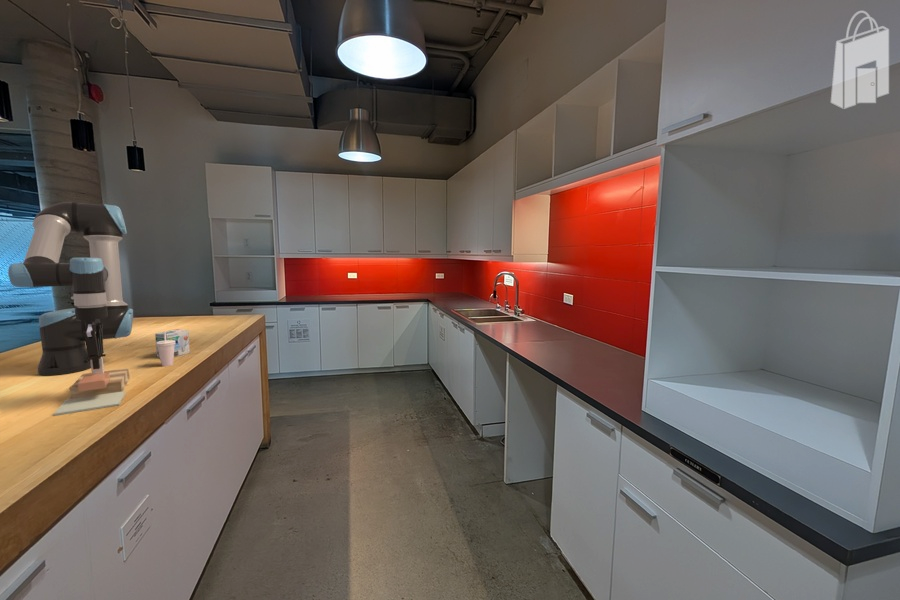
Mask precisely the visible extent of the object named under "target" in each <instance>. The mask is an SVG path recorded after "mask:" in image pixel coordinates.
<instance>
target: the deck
mask: <svg viewBox="0 0 900 600" xmlns="http://www.w3.org/2000/svg"><path fill="white" fill-rule="evenodd" d="M109 372H110V381H109V383H108V384H107V386H106V388H102V389H94V390H87V391H80V392H79V390H78V383H79V382H80V380H81V379H82V378H83V377H84V376H85V375H92V372H87V373H82V374H81V375H80V376H79V378H77V379H76V380H75V382H73V384H72V385H71V386H70V387H69V397H70V399H73V398H80V397H87V396H94V395H101V394H108V393H115V392H122V391H125V388H126V386H127V384H128V382H129V380H130V370H129V368H120V369H112V370H104V373H109Z"/></svg>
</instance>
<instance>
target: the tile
mask: <svg viewBox="0 0 900 600" xmlns="http://www.w3.org/2000/svg"><path fill="white" fill-rule="evenodd" d="M109 381H110V372H109V373H101V374H93V375H85V376H84V377H83V378H82V379H81V380H80V382H79V383H78V390H79V392H80V391H87V390H94V389H102V388H106V386H107V384H108V383H109Z"/></svg>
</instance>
